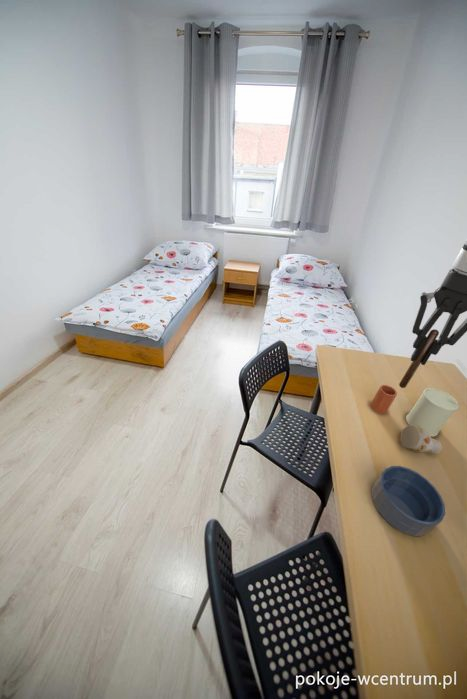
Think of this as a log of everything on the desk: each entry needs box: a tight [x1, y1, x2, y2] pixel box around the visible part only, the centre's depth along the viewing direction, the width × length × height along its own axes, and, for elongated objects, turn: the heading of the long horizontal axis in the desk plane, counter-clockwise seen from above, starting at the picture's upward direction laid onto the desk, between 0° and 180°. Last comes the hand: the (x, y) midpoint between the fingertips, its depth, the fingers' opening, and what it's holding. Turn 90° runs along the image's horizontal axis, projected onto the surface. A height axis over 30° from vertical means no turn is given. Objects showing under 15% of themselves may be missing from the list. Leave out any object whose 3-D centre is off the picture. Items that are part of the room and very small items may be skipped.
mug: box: [400, 425, 442, 455], centre depth 78 cm, size 8×10×10 cm
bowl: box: [371, 465, 446, 537], centre depth 63 cm, size 13×13×6 cm
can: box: [405, 387, 460, 437], centre depth 84 cm, size 9×9×12 cm
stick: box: [398, 328, 440, 389], centre depth 72 cm, size 2×2×19 cm
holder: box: [370, 384, 398, 415], centre depth 89 cm, size 5×5×8 cm
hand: (417, 360), depth 72 cm, fingers closed on stick, 2 cm apart
